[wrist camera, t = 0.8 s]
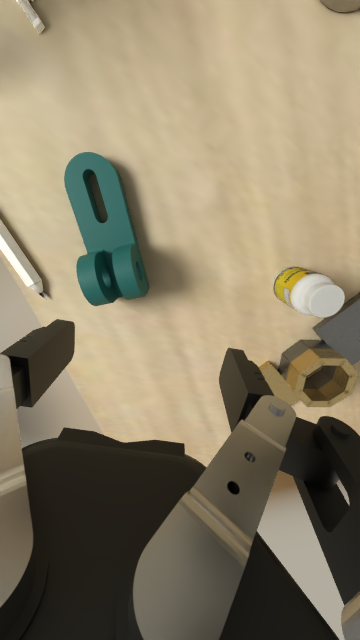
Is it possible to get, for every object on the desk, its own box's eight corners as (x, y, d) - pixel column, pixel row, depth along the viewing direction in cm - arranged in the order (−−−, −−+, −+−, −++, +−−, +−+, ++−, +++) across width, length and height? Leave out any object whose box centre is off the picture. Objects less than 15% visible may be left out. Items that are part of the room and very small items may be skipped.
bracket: (149, 287, 35) (141, 302, 28) (108, 296, 36) (90, 312, 29) (114, 152, 29) (92, 125, 22) (64, 164, 29) (26, 142, 22)
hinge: (367, 287, 35) (402, 297, 30) (395, 329, 38) (432, 346, 32) (224, 392, 43) (231, 417, 37) (256, 421, 45) (268, 448, 40)
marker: (51, 297, 37) (-20, 196, 31) (57, 294, 36) (-16, 188, 30) (36, 305, 35) (-42, 198, 29) (42, 302, 34) (-39, 190, 28)
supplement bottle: (304, 261, 34) (351, 272, 25) (308, 294, 36) (352, 316, 27) (268, 272, 34) (301, 287, 25) (274, 304, 36) (306, 329, 27)
